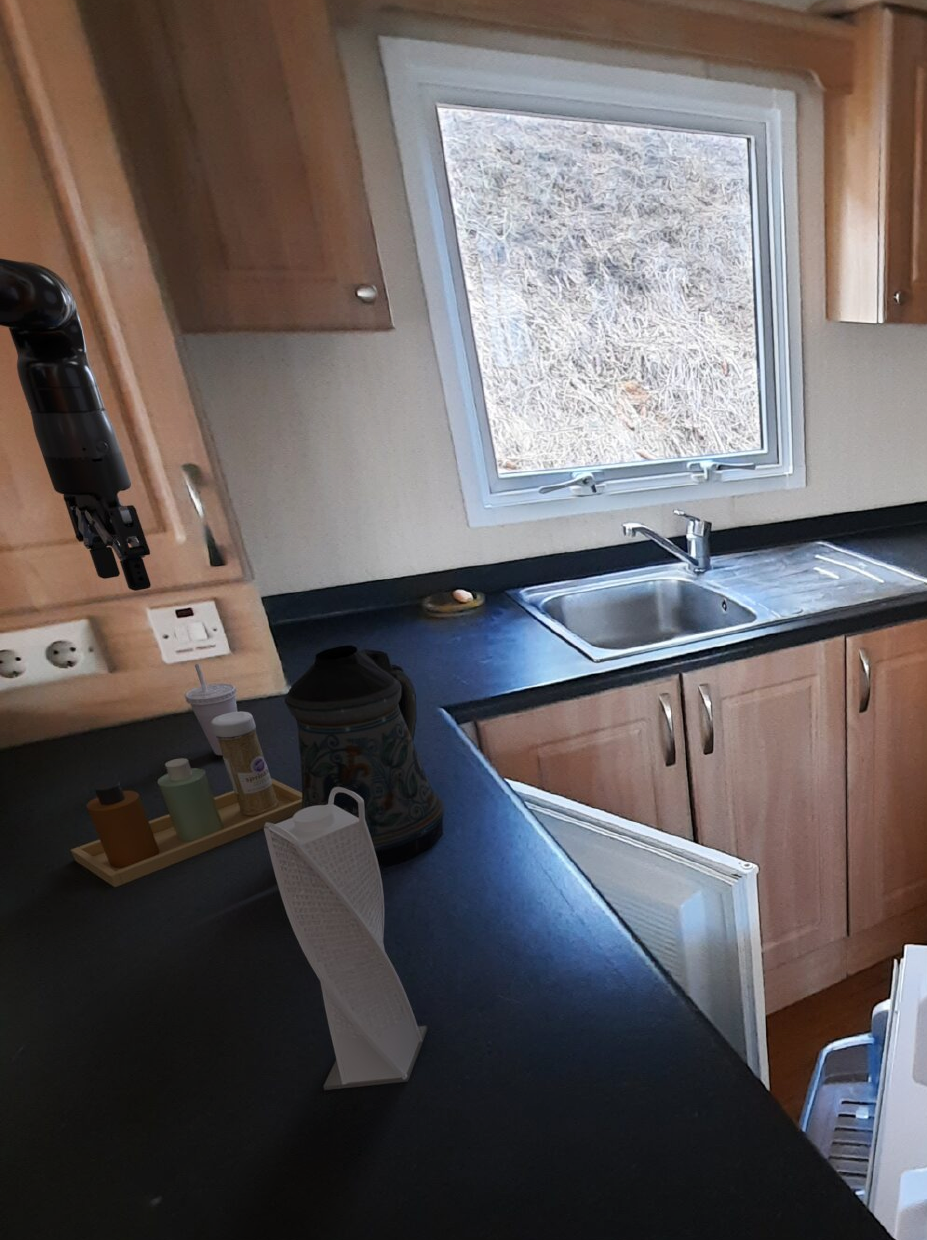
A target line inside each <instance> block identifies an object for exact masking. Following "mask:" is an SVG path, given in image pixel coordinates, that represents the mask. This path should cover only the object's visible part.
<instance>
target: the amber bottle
mask: <svg viewBox="0 0 927 1240" xmlns="http://www.w3.org/2000/svg"><path fill="white" fill-rule="evenodd" d="M93 790H94V791H95V794H96V796H97V797H94V798H93V799H91V800H90V801H89V802H88V803H87V804H86V809H87V812H88V814H89V816H90V819H91V822H92V824H93V826H94V829H95V831H96V834H97V836H98V838H99V839H100V841H101V844H102V846H103V849H104V851H105V853H106V856H107V858H108V861H109V863H110V865H111V866H112V867H115V868H125V867H128V866H130V865H133V864H135V863H138V862H141V861H143V860H146V859H148V858H151V857H153V856H156V855H158V854H159V848H158V846H157V843H156V840H155V838H154V835H153V832H152V830H151V827H150V824H149V819H148V816H147V814H146V811H145V808H144V805H143V803H142V801H141V797H140V795H139V793H138V792H136V791H133V790H123V788H122V786H121V783H120V781H118V780H110V781H103V782H101V783H99V784H97V785H95V787H94V789H93ZM99 839H98V840H99Z"/></svg>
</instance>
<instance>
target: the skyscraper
mask: <svg viewBox="0 0 927 1240" xmlns="http://www.w3.org/2000/svg"><path fill="white" fill-rule="evenodd" d="M338 792H342V793H346V794H348V795H350V796H352V797H353V798H354V799H355V800H356V801H357V802H358V809H359V818H357V817H356V816H354V815H352V814H350V813H348V812H346V811H345V810H343V809H341V808H339V807H337V806H335V805H334V804H333V803H334V796H335V794H336V793H338ZM263 832H264V836H265V840H266V844H267V848H268V853H269V856H270V861H271V865H272V869H273V872H274V876H275V879H276V883H277V887H278V890H279V894H280V897H281V900H282V904H283V906H284V909H285V912H286V915H287V918H288V920H289V923H290V925H291V928H292V931H293V933H294V935H295V938H296V940H297V942H298V945H299V946H300V948H301V950H302V952H303V954H304V956H305V958H306V959H307V962H308V964H309V965H310V967H311V969H312V970H313V972H314V973H315V975H316V977H317V978H318V980H319V982H320V988H321V993H322V999H323V1005H324V1010H325V1014H326V1019H327V1024H328V1028H329V1035H330V1037H331V1041H332V1046H333V1051H334V1054H335V1061H334V1063H333V1065H332V1067H331V1069H330V1072H329V1073H328V1076H327V1078H326V1080H325V1082H324V1084H323V1090H324V1091H331V1090H339V1089H349V1088H360V1087H368V1086H369V1087H370V1086H378V1085H388V1084H396V1083H397V1084H399V1083H407V1082H409V1080H410V1078H411V1075H412V1072H413V1069H414V1067H415V1064H416V1061H417V1058H418V1056H419V1053H420V1050H421V1049H422V1045H423V1042H424V1040H425V1037H426V1034H427V1031H428V1026H427V1025H418V1023H417V1020H416V1017H415V1014H414V1012H413V1008H412V1006H411V1003H410V1001H409V999H408V995H407V993H406V990H405V988H404V986H403V984H402V981H401V979H400V977H399V975H398V973H397V971H396V968H395V967H394V965H393V963H392V962H391V960H390V958H389V956H388V954H387V952H386V949H385V945H384V936H385V935H384V934H385V896H384V888H383V880H382V875H381V874H382V873H381V870H380V869H381V868H380V869H379V865H378V861H377V856H376V853H375V850H374V846H373V843H372V839H371V836H370V833H369V830H368V827H367V824H366V821H365V812H364V800H363V799H362V798H361V797H360V796H359V795H358V794H356V793H355V792H353V791H350V790H348V789H345V788H342V787H335V788H333V789H332V790H331V793H330V796H329V800H328V804H327V805H318V806H311V807H307V808H304V809H302V810H300V811H298V812H297V813H295V814H294V816H292V817H290V818H287V819H285V820H282V821H280V822H277V823H275V824H272V823H269V822H266V823H265V825H264V828H263Z"/></svg>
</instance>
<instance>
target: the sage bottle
mask: <svg viewBox="0 0 927 1240" xmlns="http://www.w3.org/2000/svg"><path fill="white" fill-rule="evenodd" d="M164 767H165V769H166V774H164V775H162V776H160V777H159V778H158V780H157V786H158V788H159V791H160V794H161V796H162V799H163V802H164V804H165V808H166V810H167V813H168V814H169V816H170V818H171V821H172V824H173V827H174V829H175V832H176V835H177V838H178V839H179V840H180V841H184V842H192V841H195V840H197V839H200V838H202V837H205V836H207V835H210V834H213V833H215V832H218V831H220V830H223V828H224V826H223V823H222V820H221V817H220V814H219V811H218V808H217V805H216V802H215V799H214V798H215V796H214V794H213V790H212V788H211V784H210V782H209V779H208V776H207V773H206V770H204V769H202V768H197V767H191V765H190V762H189V760H188V758H185V757H184V758H183V757H181V758H175V759H171V760H169V761H167V762H165V764H164Z"/></svg>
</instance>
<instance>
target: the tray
mask: <svg viewBox="0 0 927 1240" xmlns="http://www.w3.org/2000/svg"><path fill="white" fill-rule="evenodd" d="M271 781H272V787H273V790H274V793H275V796H276V799H277V800H278V807H277V808H276V809H274V810H272V811H269V812H266V813H264V814H261V815H257V816H247V815H243V814H242V813H241V812H240V806H239V803H238V800H237V797H236V794H235V792H234V790H231V791H229V792H226V793H224V794H221V795H218V796H214V799H215V802H216V805H217V808H218V811H219V814H220V817H221V820H222V823H223V826H224V828H223V830H220V831H218V832H215V833H213V834H210V835H207V836H205V837H202V838H200V839H197V840H195V841H192V842H184V841H180V840H179V839H178V838H177V835H176V832H175V829H174V827H173V824H172V821H171V818H170V816H169V813H168V814H165V815H162V816H159V817H157V818H154V819H152V820H148V822H149V824H150V827H151V830H152V832H153V835H154V838H155V840H156V843H157V846H158V848H159V854H158V855H156V856H153V857H151V858H148V859H146V860H143V861H141V862H138V863H135V864H133V865H130V866H128V867H125V868H115V867H112V866H111V865H110V863H109V861H108V858H107V856H106V853H105V851H104V849H103V846H102V844H101V841H100V839H96V840H93V841H91V842H88V843H86V844H83V845H80V846H77V847H75V848H71V849H70V852H71V853H72V856H73V859H74V861H75V862H77V863H78V864H79V865H81V866H83V867H84V868H86V869H87V870H88V871H90V872H92V873H93V874H94V875H96V876H97V877H99V878H100V879H102V880H103V881H105V882H106V883H108V884H109V885H111V886H112V887H113V888H117V887H120V886H122V885H125V884H127V883H130V882H132V881H135V880H138V879H140V878H142V877H144V876H148V875H150V874H152V873H154V872H158V871H160V870H162V869H165V868H168V867H169V866H172V865H175V864H177V863H180V862H182V861H185V860H188V859H189V858H193V857H195V856H197V855H200V854H202V853H204V852H208V851H209V850H212V849H215V848H217V847H220V846H222V845H224V844H227V843H230V842H233V841H234V840H238V839H240V838H242V837H245V836H247V835H249V834H252V833H255V832H257V831H260V830H262V829H264V825H265V823H266V822H269V823H272V824H277V823H280V822H282V821H285V820H288V819H290V818H293V816H294V814H295V813H297V812H298V811H300V810H301V809H302V791H299V790H297V789H295V788H293V787H291V786H288V785H287V784H284V783H282V782H280V781H278V780H276V779H274V778H272V777H271Z"/></svg>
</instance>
